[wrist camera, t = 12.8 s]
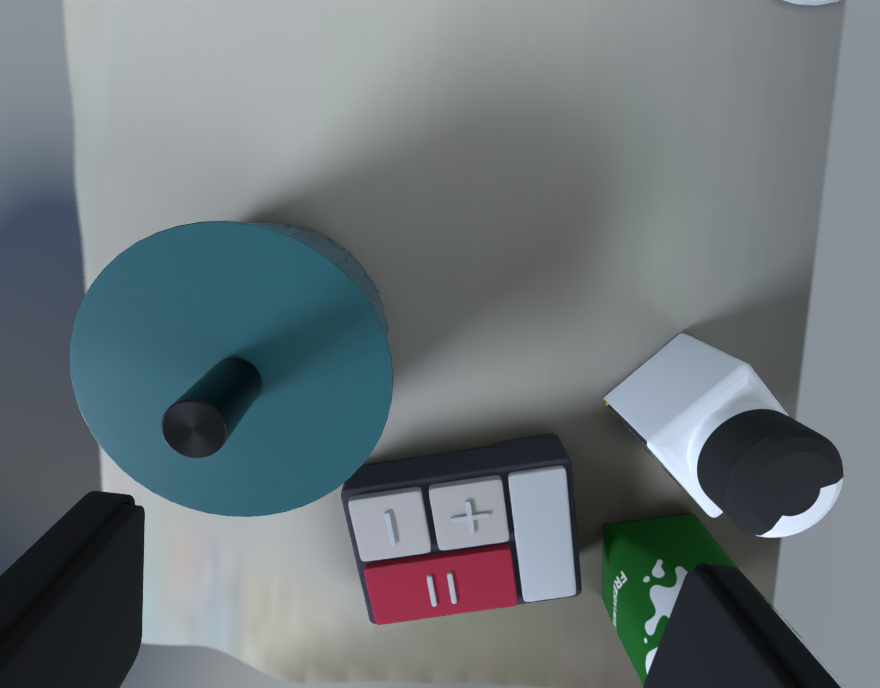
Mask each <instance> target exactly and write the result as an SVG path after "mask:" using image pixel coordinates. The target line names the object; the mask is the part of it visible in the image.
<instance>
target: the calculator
mask: <svg viewBox="0 0 880 688" xmlns="http://www.w3.org/2000/svg"><path fill="white" fill-rule="evenodd" d="M341 498H342V502H343V507H344V511H345V515H346V520H347V524H348V528H349V533H350V537H351V541H352V545H353V550H354V554H355V558H356V563H357V567H358V571H359V576H360V580H361V584H362V589H363V593H364V597H365V602H366V606H367V610H368V615H369V618H370V621H371V622H372V623H374V624H378V625H380V624H389V623H396V622H403V621H411V620H418V619H425V618H432V617H439V616H446V615H453V614H460V613H468V612H475V611H482V610H489V609H496V608H503V607H510V606H515V605H517V604H524V603H531V602H538V601H545V600H553V599H560V598H567V597H574V596H578V595H579V594H580V593H581V590H582V588H581V575H580V563H579V551H578V538H577V526H576V514H575V502H574V490H573V478H572V466H571V461H570V459H569V457H568V455H567V453H566V451H565V449H564V447H563V446H562V444H561V442H560V440H559V438H558V437H557V436H556V435H554V434H549V435H542V436H535V437H528V438H521V439H514V440H508V441H504V442H502V443H500V444H498V445H496V446H494V447H488V448H481V449H475V450H468V451H461V452H454V453H447V454H440V455H433V456H426V457H419V458H412V459H406V460H399V461H392V462H385V463H378V464H371V465H364V466H361V467H360V468H359V469H358V470H357V471H356V472H355V473H354V474H353V475H352V476H351V477H350V478H349V479H348V480H346V481H345V482H344V485H343V488H342V492H341Z"/></svg>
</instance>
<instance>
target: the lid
mask: <svg viewBox="0 0 880 688" xmlns="http://www.w3.org/2000/svg"><path fill="white" fill-rule="evenodd" d="M70 369H71V378H72V379H71V380H72V384H73V388H74V392H75V396H76V400H77V403H78V405H79V408H80V410H81V413H82V415H83V418H84V420H85V422H86V424H87V425H88V427H89V429H90V431H91V432H92V434H93V436H94V438H95V439H96V440H97V442H98V443H99V444H100V446H101V447H102V448H103V450H104V451H105V452H106V454H107V455H108V456H109V457H110V458H111V459H112V460H113V461H114V462H115V463H116V464H117V465H118V466H119V467H120V468H121V469H122V470H123V471H124V472H126V473H127V474H128V475H129V476H130V477H132V478H133V479H134V480H135V481H137V482H138V483H140V484H141V485H143V486H144V487H146V488H147V489H149V490H150V491H152V492H154V493H156V494H158V495H160V496H162V497H164V498H166V499H167V500H169V501H172V502H174V503H177V504H180V505H182V506H185V507H188V508H191V509H194V510H198V511H202V512H206V513H211V514H218V515H225V516H242V517H250V516H263V515H271V514H276V513H281V512H286V511H289V510H292V509H296V508H299V507H302V506H305V505H307V504H309V503H311V502H313V501H316V500H318V499H320V498H322V497H323V496H325V495H327V494H328V493H330V492H332V491H333V490H335V489H336V488H338V487H339V486H340V485H341V484H343V483H344V482H345V481H346V480H348V479H349V478H350V477H351V476H352V475H353V474H354V473H355V472H356V471H357V470H358V469H359V468H360V467H361V466H362V465H363V463H364V462H365V460H366V459H367V458H368V456H369V455H370V454H371V452H372V451H373V449H374V447H375V446H376V444H377V442H378V440H379V438H380V436H381V434H382V432H383V429H384V426H385V424H386V421H387V418H388V414H389V409H390V405H391V400H392V388H393V370H392V358H391V354H390V349H389V344H388V340H387V337H386V334H385V331H384V329H383V326H382V323H381V321H380V319H379V317H378V315H377V313H376V311H375V309H374V307H373V305H372V304H371V302H370V301H369V299H368V298H367V296H366V295H365V293H364V292H363V291H362V289H361V288H360V287H359V285H358V284H357V283H356V282H355V281H354V280H353V279H352V278H351V277H350V275H349V274H348V273H347V272H346V271H345V270H344V269H342V268H341V267H340V266H339V265H338V264H337V263H336V262H334V261H333V260H332V259H331V258H330V257H328V256H327V255H325V254H324V253H322V252H321V251H319V250H318V249H316V248H315V247H313V246H312V245H310V244H308V243H306V242H304V241H302V240H300V239H298V238H296V237H294V236H292V235H289V234H287V233H284V232H281V231H278V230H275V229H273V228H269V227H265V226H260V225H256V224H251V223H244V222H234V221H208V222H198V223H192V224H186V225H180V226H176V227H173V228H170V229H167V230H164V231H161V232H157V233H155V234H153V235H151V236H149V237H147V238H145V239H143V240H141V241H139V242H137V243H135V244H134V245H132V246H131V247H129V248H128V249H126V250H125V251H124V252H122V253H121V254H119V255H118V256H117V257H116V258H115V259H114V260H113V261H112V262H111V263H110V264H109V265H107V266H106V267H105V268H104V269H103V271H102V272H101V273H100V274H99V276H98V277H97V278H96V280H95V281H94V282H93V283H92V285H91V286H90V288H89V290H88V292H87V294H86V295H85V297H84V299H83V301H82V303H81V305H80V308H79V311H78V313H77V317H76V319H75V322H74V326H73V332H72V336H71V341H70Z"/></svg>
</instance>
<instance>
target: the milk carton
mask: <svg viewBox="0 0 880 688" xmlns="http://www.w3.org/2000/svg"><path fill="white" fill-rule="evenodd" d="M699 563H711V564H720V565H728V566H733V567H735V568H737V566H736V565H735V564H734V563H733V562H732V560H731V559H730V558H729V557H728V555H727V554H726V553H725V552H724V550H723V549H722V548H721V547H720V545H719V544H718V543H717V542H716V540H715V539H714V538H713V537H712V536H711V534H710V533H709V532H708V531H707V529H706V528H705V527H704V526H703V524H702V523H701V522H700V521H699V519H698V518H697V517H696V516H695V515H694V514H684V515H676V516H668V517H660V518H652V519H644V520H635V521H627V522H619V523H611V524H603V590H602V599H603V601H604V604H605V606H606V608H607V611H608V613H609V616H610V618H611V620H612V623H613V625H614V627H615V630H616V632H617V634H618V636H619V638H620V640H621V642H622V644H623V646H624V648H625V650H626V652H627V654H628V656H629V658H630V660H631V662H632V664H633V666H634V668H635V670H636V672H637V674H638V676H639V678H640V680H641V682H642V684H643V686H644V682H645V679H646V676H647V674H648V671H649V669H650V666H651V663H652V661H653V658H654V656H655V653H656V651H657V648H658V645H659V643H660V640H661V638H662V635H663V632H664V630H665V627H666V625H667V622H668V620H669V617H670V614H671V612H672V609H673V607H674V604H675V601H676V599H677V596H678V594H679V591H680V589H681V586H682V583H683V581H684V578H685V576H686V574H687V573H688V572H689V571H690V570H694V568H695V566H696V565H698V564H699ZM737 569H738V568H737ZM738 570H739V569H738ZM739 571H740V570H739ZM740 572H741V571H740ZM741 573H742V572H741ZM742 574H743V573H742ZM743 575H744V574H743ZM744 576H745V575H744ZM745 577H746V576H745ZM747 580H748V579H747ZM748 581H749V580H748ZM749 582H750V581H749ZM750 583H751V582H750ZM751 584H752V583H751ZM752 585H753V584H752ZM753 586H754V585H753ZM754 588H755V589H756V587H755V586H754ZM756 590H757V589H756ZM757 591H758V590H757ZM758 592H759V591H758ZM759 593H760V592H759ZM760 595H761V596H762V597H763V598H764V599H765V600H766V602H767V603H768V604H769V605H770V606H771V607H772V608H773V610H774V611H775V612H776V613H777V614H778V615H779V617H780V618H781V619H782V620H783V621H784V622H785V623H786V625H787V626H788V627H789V628H790V629H791V630H792V632H793V633H794V634H795V635H796V636H797V637H798V638H799V640H800V641H801V642H802V643H803V644H804V645H805V647H806V648H807V649H808V650H809V651H810V652H811V653H812V655H813V656H814V657H815V658H816V659H817V660H818V662H819V663H820V664H821V665H822V666H823V667H824V668H825V670H826V671H827V672H828V673H829V674H830V675H831V677H832V678H833V679H834V680H835V681H836V682H837V684H838V685H839V686H840V687H841V688H850V687H849V686H848V685H846V684H845V683H844V682H843V681H842V680H841V679H840V678H839V677H838V676H837V675H836V674H835V673H834V672H833V671H832V670H831V669H830V668H829V667H828V666H827V665H826V664H825V662H824V661H822V659H821V658H820V657H819V656H818V655H817V654H816V653H815V652H814V651H813V650H812V648H811V647H810V646H809V645H808V644H807V643H806V642H805V641H804V640H803V639H802V638H801V636H800V635H799V634H798V633H797V632H796V631H795V630H794V629H793V628H792V627H791V626H790V624H789V623H788V622H787V621H786V620H785V619H784V618H783V617H782V616H781V615H780V614H779V613H778V611H777V610H776V609H775V608H774V607H773V606H772V605H771V604H770V603H769V602H768V601H767V599H766V598H765V597H764V596H763V595H762V594H761V593H760Z"/></svg>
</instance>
